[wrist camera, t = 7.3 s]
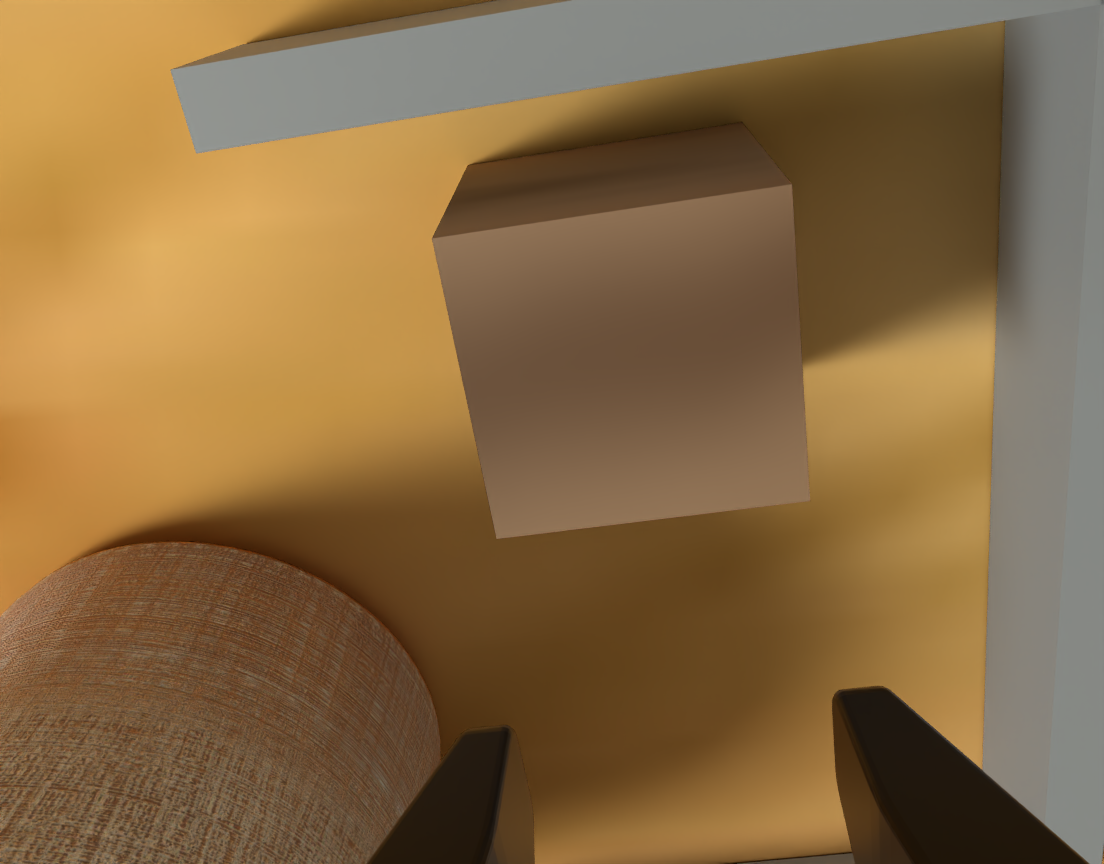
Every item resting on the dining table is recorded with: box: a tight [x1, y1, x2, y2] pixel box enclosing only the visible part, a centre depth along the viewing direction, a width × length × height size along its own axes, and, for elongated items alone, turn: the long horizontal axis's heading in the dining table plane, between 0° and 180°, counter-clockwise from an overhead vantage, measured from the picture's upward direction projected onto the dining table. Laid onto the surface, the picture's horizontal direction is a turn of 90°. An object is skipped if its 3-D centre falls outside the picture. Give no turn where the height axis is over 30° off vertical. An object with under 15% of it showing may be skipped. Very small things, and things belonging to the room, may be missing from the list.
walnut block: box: [432, 122, 810, 539], centre depth 17 cm, size 5×5×5 cm
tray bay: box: [171, 0, 1104, 864], centre depth 21 cm, size 22×14×4 cm, turn 9°
